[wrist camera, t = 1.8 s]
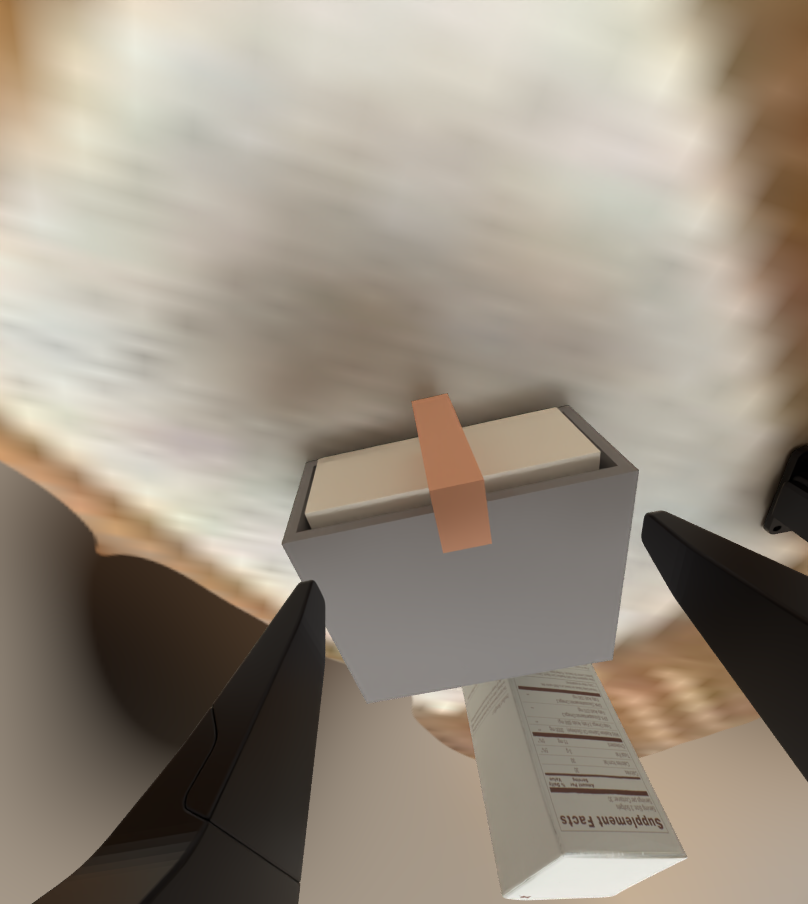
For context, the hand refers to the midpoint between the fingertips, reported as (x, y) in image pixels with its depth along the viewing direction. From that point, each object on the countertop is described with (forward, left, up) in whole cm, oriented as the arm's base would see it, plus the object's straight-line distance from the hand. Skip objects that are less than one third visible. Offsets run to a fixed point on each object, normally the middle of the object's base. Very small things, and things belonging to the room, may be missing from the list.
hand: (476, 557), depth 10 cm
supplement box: (-3, +23, -10) cm, 25 cm away
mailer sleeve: (0, +8, -10) cm, 13 cm away
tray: (0, +6, -9) cm, 11 cm away
